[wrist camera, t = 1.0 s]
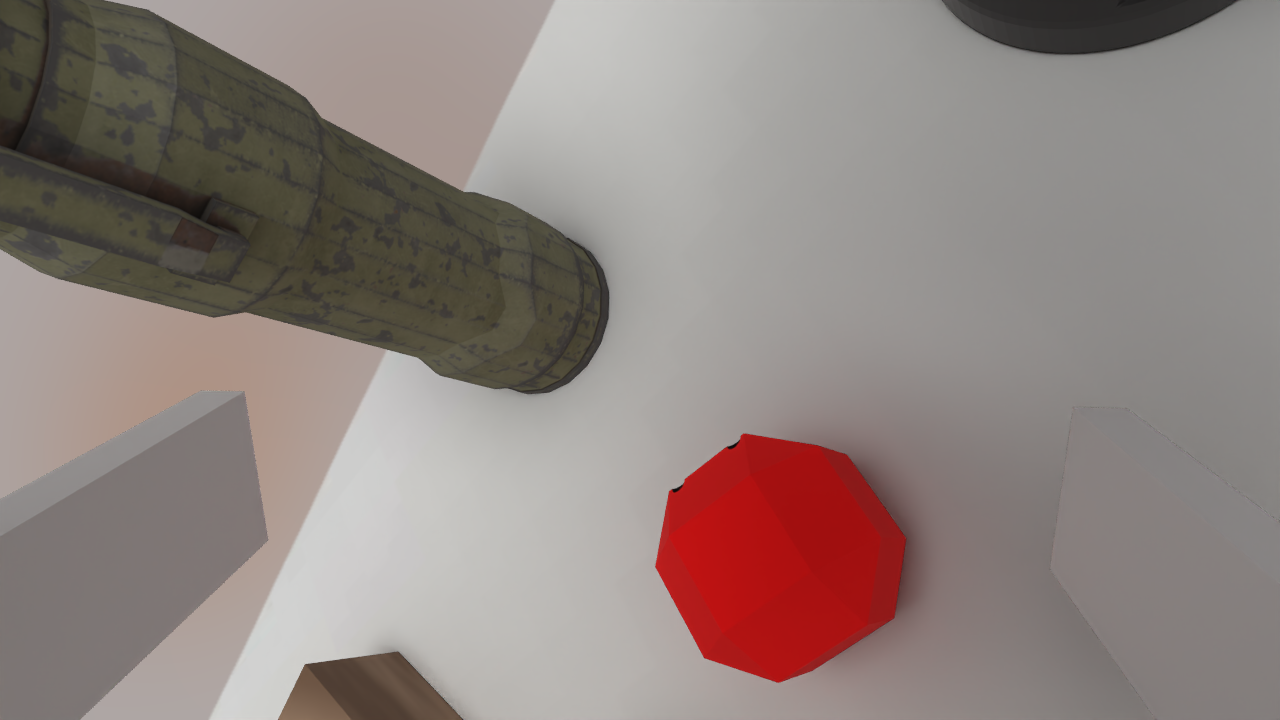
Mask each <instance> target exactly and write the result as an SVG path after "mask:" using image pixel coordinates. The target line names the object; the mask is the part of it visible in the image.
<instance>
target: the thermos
mask: <svg viewBox="0 0 1280 720" xmlns="http://www.w3.org/2000/svg"><path fill="white" fill-rule="evenodd" d="M0 249H1V250H3V251H4V252H6V253H8V254H10V255H11V256H13V257H15V258H17V259H18V260H20V261H22V262H23V263H25V264H27V265H29V266H30V267H32V268H34V269H36V270H37V271H39V272H41V273H44V274H47V275H50V276H52V277H55V278H58V279H61V280H65V281H69V282H73V283H77V284H81V285H85V286H89V287H93V288H97V289H101V290H105V291H109V292H113V293H117V294H121V295H125V296H129V297H133V298H137V299H141V300H145V301H149V302H153V303H158V304H161V305H165V306H169V307H173V308H178V309H181V310H185V311H189V312H193V313H197V314H201V315H206V316H209V317H220V316H226V315H232V314H238V313H244V312H247V313H251V314H254V315H258V316H262V317H266V318H270V319H273V320H277V321H281V322H285V323H288V324H292V325H296V326H300V327H304V328H307V329H312V330H316V331H319V332H323V333H327V334H330V335H334V336H338V337H342V338H346V339H349V340H353V341H357V342H361V343H365V344H368V345H372V346H376V347H380V348H383V349H387V350H391V351H395V352H399V353H402V354H406V355H410V356H414V357H418V358H419V359H420V360H422V361H423V362H424V363H425V364H426V365H427V366H429V367H430V368H431V369H432V370H433V371H434V372H435V373H437V374H439V375H440V376H444V377H448V378H452V379H456V380H460V381H464V382H468V383H473V384H477V385H481V386H485V387H489V388H493V389H502V388H509V389H512V390H515V391H518V392H522V393H526V394H536V393H547V392H551V391H553V390H555V389H557V388H559V387H561V386H563V385H565V384H567V383H569V382H570V381H571V380H572V379H573V378H574V377H576V376H577V375H578V374H579V373H580V372H581V371H582V370H583V369H584V368H585V367H586V366H587V365H588V363H589V362H590V360H591V358H592V357H593V355H594V353H595V352H596V350H597V348H598V347H599V345H600V343H601V340H602V337H603V334H604V330H605V327H606V323H607V320H608V305H609V291H608V288H607V284H606V280H605V276H604V273H603V270H602V268H601V267H600V265H599V264H598V262H597V261H596V259H595V258H594V256H593V255H592V254H591V252H589V251H588V250H586V249H585V248H583V247H582V246H580V245H579V244H577V243H576V242H574V241H572V240H570V239H568V238H565V236H564V235H563V234H562V233H561V232H559V231H557V230H556V229H554V228H553V227H551V226H550V225H548V224H547V223H545V222H543V221H542V220H540V219H538V218H536V217H534V216H532V215H530V214H529V213H527V212H525V211H523V210H521V209H519V208H518V207H516V206H514V205H512V204H510V203H507V202H504V201H501V200H498V199H494V198H491V197H488V196H485V195H481V194H478V193H475V192H463V191H461V190H459V189H457V188H455V187H453V186H451V185H449V184H447V183H445V182H443V181H441V180H439V179H438V178H436V177H434V176H432V175H430V174H428V173H426V172H424V171H422V170H420V169H418V168H417V167H415V166H413V165H411V164H409V163H407V162H405V161H403V160H401V159H399V158H397V157H395V156H394V155H392V154H390V153H388V152H386V151H384V150H382V149H380V148H378V147H376V146H374V145H373V144H371V143H369V142H367V141H365V140H363V139H361V138H359V137H357V136H355V135H353V134H352V133H350V132H348V131H346V130H344V129H342V128H340V127H338V126H336V125H334V124H332V123H330V122H328V121H327V120H325V119H323V118H321V117H320V115H319V114H318V113H317V111H316V110H315V109H314V108H313V106H312V105H311V104H310V102H309V101H308V100H307V99H306V98H305V97H304V96H302V95H301V94H299V93H298V92H296V91H295V90H294V89H292V88H291V87H290V86H288V85H286V84H284V83H283V82H281V81H279V80H277V79H275V78H273V77H271V76H270V75H268V74H266V73H264V72H262V71H260V70H258V69H257V68H255V67H253V66H251V65H249V64H247V63H245V62H243V61H242V60H240V59H238V58H236V57H234V56H232V55H230V54H229V53H227V52H225V51H223V50H221V49H219V48H218V47H216V46H214V45H212V44H210V43H208V42H206V41H205V40H203V39H201V38H199V37H197V36H195V35H194V34H192V33H190V32H188V31H186V30H184V29H182V28H180V27H179V26H177V25H175V24H173V23H171V22H169V21H168V20H165V19H164V18H162V17H160V16H158V15H156V14H155V13H153V12H150V11H149V10H147V9H142V8H137V7H133V6H128V5H123V4H119V3H114V2H109V1H105V0H0Z"/></svg>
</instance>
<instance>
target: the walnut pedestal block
mask: <svg viewBox="0 0 1280 720" xmlns="http://www.w3.org/2000/svg"><path fill="white" fill-rule="evenodd" d="M278 720H463V719H462V718H461V717H460V716H459V715H458V714H457V713H456V712H455V711H454V710H453V709H452V708H451V707H450V706H449V705H448V704H447V703H446V702H445V701H444V699H443V698H442V697H441V696H440V695H439V694H438V693H437V692H436V691H435V690H434V689H433V688H432V687H431V686H430V685H429V684H428V683H427V682H426V681H425V679H424V678H423V677H422V676H421V675H420V674H419V673H418V672H417V671H416V670H415V669H414V668H413V667H412V666H411V665H410V664H409V663H408V662H407V661H406V660H405V658H404V657H403V656H402V655H401V654H400V653H399V652H392V653H385V654H378V655H370V656H363V657H355V658H348V659H340V660H333V661H325V662H318V663H311V664H305V665H304V667H303V669H302V671H301V674H300V676H299V678H298V680H297V682H296V684H295V686H294V688H293V690H292V692H291V694H290V696H289V698H288V700H287V702H286V704H285V706H284V708H283V710H282V713H281V715H280V717H279V719H278Z"/></svg>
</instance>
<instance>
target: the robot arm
mask: <svg viewBox="0 0 1280 720" xmlns="http://www.w3.org/2000/svg"><path fill="white" fill-rule="evenodd" d="M942 1H943V2H944V3H945V4H946V5H947V7H948V8H949V9H950V10H951V11H952V12H953V13H954V14H955V15H956V16H957V17H958V18H960V19H961V20H962V21H963V22H964V23H966V24H967V25H969V26H970V27H972V28H973V29H975V30H976V31H978V32H980V33H982V34H984V35H986V36H988V37H990V38H992V39H995V40H997V41H1000V42H1003V43H1005V44H1008V45H1012V46H1016V47H1020V48H1024V49H1029V50H1035V51H1043V52H1055V53H1081V52H1093V51H1102V50H1109V49H1115V48H1120V47H1125V46H1129V45H1134V44H1137V43H1141V42H1145V41H1149V40H1152V39H1155V38H1158V37H1161V36H1164V35H1167V34H1169V33H1172V32H1174V31H1177V30H1179V29H1182V28H1184V27H1187V26H1189V25H1191V24H1193V23H1195V22H1198V21H1200V20H1202V19H1204V18H1206V17H1207V16H1209V15H1211V14H1213V13H1215V12H1217V11H1219V10H1220V9H1222V8H1224V7H1225V6H1227V5H1229V4H1230V3H1232V2H1234V1H1235V0H942ZM267 541H268V536H267V530H266V523H265V517H264V511H263V504H262V498H261V492H260V485H259V479H258V473H257V466H256V460H255V454H254V448H253V441H252V435H251V429H250V423H249V416H248V410H247V404H246V397H245V392H244V391H199V392H197V393H195V394H193V395H192V396H190V397H188V398H186V399H184V400H182V401H181V402H179V403H177V404H176V405H173V406H171V407H169V408H168V409H166V410H164V411H162V412H160V413H159V414H157V415H155V416H153V417H151V418H149V419H147V420H146V421H144V422H142V423H140V424H139V425H136V426H134V427H133V428H131V429H129V430H127V431H125V432H123V433H122V434H120V435H118V436H116V437H114V438H112V439H110V440H109V441H107V442H105V443H103V444H101V445H99V446H98V447H96V448H94V449H92V450H90V451H88V452H87V453H85V454H83V455H81V456H79V457H77V458H75V459H74V460H72V461H70V462H68V463H66V464H64V465H62V466H61V467H59V468H57V469H55V470H53V471H52V472H50V473H48V474H46V475H44V476H42V477H40V478H38V479H37V480H35V481H33V482H31V483H29V484H28V485H26V486H24V487H22V488H20V489H18V490H16V491H15V492H13V493H11V494H9V495H7V496H5V497H3V498H2V499H0V720H80V719H81V718H82V717H83V716H84V715H85V714H86V713H87V712H89V711H90V710H91V709H92V708H93V707H94V706H95V705H96V704H97V703H98V702H99V701H100V700H101V699H102V698H103V697H104V696H105V695H106V694H107V693H108V692H109V691H110V690H112V689H113V688H114V687H115V686H116V685H117V684H118V683H119V682H120V681H121V680H122V679H123V678H124V677H125V676H126V675H127V674H128V673H129V672H131V671H132V670H133V669H134V668H135V667H136V666H137V665H138V664H139V663H140V662H141V661H142V660H143V659H144V658H145V657H146V656H147V655H148V654H149V653H151V652H152V651H153V650H154V649H155V648H156V647H157V646H158V645H159V644H160V643H161V642H162V641H163V640H164V639H165V638H166V637H167V636H168V635H169V634H170V633H172V632H173V631H174V630H175V629H176V628H177V627H178V626H179V625H180V624H181V623H182V622H183V621H184V620H185V619H186V618H187V617H188V616H189V615H190V614H192V613H193V612H194V611H195V610H196V609H197V608H198V607H199V606H200V605H201V604H202V603H203V602H204V601H205V600H206V599H207V598H208V597H209V596H210V595H211V594H212V593H214V592H215V591H216V590H217V589H218V588H219V587H220V586H221V585H222V584H223V583H224V582H225V581H226V580H227V579H228V578H229V577H230V576H231V575H232V574H233V573H235V572H236V571H237V570H238V568H240V567H241V566H242V565H243V564H244V563H245V562H246V561H247V560H248V559H249V558H250V557H251V556H252V555H253V554H255V553H256V551H258V550H259V549H260V548H261V547H262V546H263V545H264V544H265V543H266V542H267ZM1050 570H1051V572H1052V573H1053V575H1054V576H1055V577H1056V579H1057V580H1058V582H1059V583H1060V585H1061V586H1062V587H1063V589H1064V590H1065V592H1066V593H1067V594H1068V596H1069V597H1070V599H1071V600H1072V602H1073V603H1074V604H1075V606H1076V607H1077V609H1078V610H1079V611H1080V613H1081V614H1082V616H1083V617H1084V619H1085V620H1086V621H1087V623H1088V624H1089V626H1090V627H1091V628H1092V630H1093V631H1094V633H1095V634H1096V636H1097V637H1098V638H1099V640H1100V641H1101V643H1102V644H1103V645H1104V647H1105V648H1106V650H1107V651H1108V652H1109V654H1110V655H1111V657H1112V658H1113V660H1114V661H1115V662H1116V664H1117V665H1118V667H1119V668H1120V669H1121V671H1122V672H1123V674H1124V675H1125V677H1126V678H1127V679H1128V681H1129V682H1130V684H1131V685H1132V686H1133V688H1134V689H1135V691H1136V692H1137V694H1138V695H1139V696H1140V698H1141V699H1142V701H1143V702H1144V703H1145V705H1146V706H1147V708H1148V709H1149V711H1150V712H1151V713H1152V715H1153V716H1154V718H1155V719H1156V720H1280V522H1279V521H1277V520H1276V519H1275V518H1273V517H1272V516H1271V515H1269V514H1268V513H1267V512H1265V511H1264V510H1263V509H1261V508H1260V507H1259V506H1257V505H1256V504H1255V503H1253V502H1252V501H1250V500H1249V499H1248V498H1246V497H1245V496H1244V495H1242V494H1241V493H1240V492H1238V491H1237V490H1236V489H1234V488H1233V487H1232V486H1230V485H1229V484H1228V483H1226V482H1225V481H1224V480H1222V479H1221V478H1220V477H1218V476H1217V475H1216V474H1214V473H1213V472H1212V471H1210V470H1209V469H1208V468H1206V467H1205V466H1204V465H1202V464H1201V463H1200V462H1198V461H1197V460H1196V459H1194V458H1193V457H1191V456H1190V455H1189V454H1187V453H1186V452H1185V451H1183V450H1182V449H1181V448H1179V447H1178V446H1177V445H1175V444H1174V443H1173V442H1171V441H1170V440H1169V439H1167V438H1166V437H1165V436H1163V435H1162V434H1161V433H1159V432H1158V431H1157V430H1155V429H1154V428H1153V427H1151V426H1150V425H1149V424H1147V423H1146V422H1145V421H1143V420H1142V419H1141V418H1139V417H1138V416H1136V415H1135V414H1134V413H1132V412H1131V411H1130V410H1128V409H1127V408H1094V407H1073V411H1072V418H1071V425H1070V432H1069V439H1068V446H1067V453H1066V460H1065V467H1064V473H1063V480H1062V487H1061V494H1060V501H1059V508H1058V515H1057V522H1056V529H1055V535H1054V542H1053V549H1052V556H1051V563H1050Z"/></svg>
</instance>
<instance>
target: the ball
mask: <svg viewBox="0 0 1280 720" xmlns="http://www.w3.org/2000/svg"><path fill="white" fill-rule="evenodd" d="M905 543H906V537H905V536H904V535H903V533H902V532H901V530H900V529H899V527H898V526H897V525H896V523H895V522H894V520H893V519H892V518H891V516H890V515H889V513H888V512H887V510H886V509H885V508H884V506H883V505H882V503H881V502H880V501H879V499H878V498H877V496H876V495H875V493H874V492H873V491H872V489H871V488H870V486H869V485H868V484H867V482H866V481H865V479H864V478H863V476H862V475H861V474H860V472H859V471H858V469H857V468H856V467H855V465H854V464H853V462H852V461H851V459H850V458H849V457H848V455H846V454H843V453H840V452H837V451H834V450H830V449H827V448H824V447H821V446H818V445H812V444H805V443H799V442H793V441H787V440H781V439H775V438H769V437H762V436H756V435H750V434H742V435H741V438H740V440H739V441H738V442H737V443H735V444H734V445H732V446H727V447H726V448H724V449H723V450H722V451H720V452H719V453H718V454H717V455H715V456H714V457H713V458H711V459H710V460H709V461H708V462H706V463H705V464H704V465H703V466H701V467H700V468H699V469H697V470H696V471H695V472H694V473H692V474H691V475H690V476H688V477H687V478H686V479H685V482H684V484H683V485H681V486H680V487H678V488H676V489H672V490H670V491H669V495H668V500H667V506H666V511H665V517H664V522H663V528H662V533H661V538H660V544H659V549H658V555H657V560H656V566H655V567H656V569H657V571H658V573H659V575H660V576H661V578H662V580H663V582H664V584H665V586H666V588H667V589H668V591H669V593H670V595H671V597H672V599H673V601H674V602H675V604H676V606H677V608H678V610H679V612H680V614H681V616H682V617H683V619H684V621H685V623H686V625H687V627H688V629H689V630H690V632H691V634H692V636H693V638H694V640H695V642H696V644H697V645H698V647H699V649H700V651H701V653H702V655H703V657H704V658H706V659H709V660H712V661H715V662H718V663H721V664H724V665H727V666H730V667H733V668H736V669H739V670H742V671H745V672H748V673H751V674H754V675H757V676H760V677H763V678H766V679H769V680H772V681H775V682H778V683H779V682H782V681H785V680H788V679H790V678H793V677H796V676H799V675H802V674H805V673H807V672H810V671H813V670H814V669H816V668H817V667H819V666H820V665H822V664H824V663H825V662H827V661H828V660H830V659H831V658H833V657H834V656H836V655H838V654H839V653H841V652H842V651H844V650H845V649H847V648H848V647H850V646H852V645H853V644H855V643H856V642H858V641H859V640H861V639H862V638H864V637H865V636H867V635H869V634H870V633H872V632H873V631H875V630H876V629H878V628H879V627H881V626H883V625H884V624H886V623H887V622H889V621H890V620H892V619H893V618H894V616H895V609H896V603H897V596H898V589H899V583H900V576H901V570H902V563H903V557H904V550H905Z"/></svg>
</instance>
